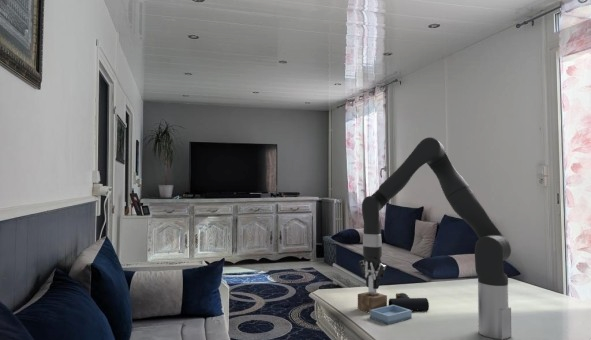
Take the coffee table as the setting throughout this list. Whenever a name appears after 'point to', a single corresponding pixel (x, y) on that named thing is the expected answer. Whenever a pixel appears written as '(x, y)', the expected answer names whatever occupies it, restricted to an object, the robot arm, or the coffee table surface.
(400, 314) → the tray
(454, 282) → the coffee table surface
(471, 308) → the coffee table surface
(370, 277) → the pin
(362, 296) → the pin block
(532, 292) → the coffee table surface
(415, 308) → the pipe connector
